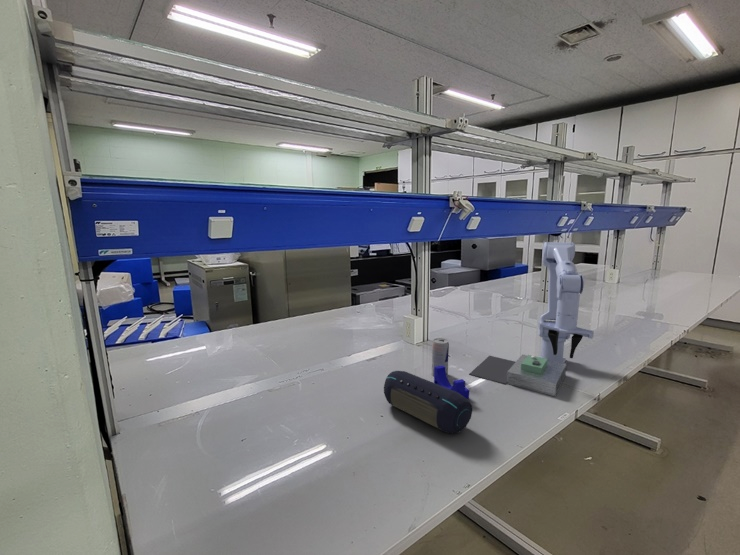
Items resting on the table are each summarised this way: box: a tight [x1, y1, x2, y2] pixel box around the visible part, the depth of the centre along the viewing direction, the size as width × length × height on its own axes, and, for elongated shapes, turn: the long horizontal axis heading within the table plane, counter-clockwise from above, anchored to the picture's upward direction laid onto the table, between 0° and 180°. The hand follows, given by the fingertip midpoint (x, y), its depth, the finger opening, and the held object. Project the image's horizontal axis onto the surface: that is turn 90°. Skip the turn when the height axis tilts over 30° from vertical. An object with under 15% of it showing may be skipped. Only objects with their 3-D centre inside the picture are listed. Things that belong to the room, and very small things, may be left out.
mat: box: [468, 355, 516, 385], centre depth 123 cm, size 20×12×1 cm, turn 142°
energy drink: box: [431, 338, 450, 377], centre depth 118 cm, size 5×5×12 cm
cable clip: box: [433, 365, 470, 400], centre depth 107 cm, size 12×4×6 cm, turn 21°
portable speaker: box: [383, 370, 473, 434], centre depth 93 cm, size 25×10×10 cm, turn 44°
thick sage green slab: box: [521, 354, 548, 374], centre depth 115 cm, size 9×6×3 cm, turn 142°
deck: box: [506, 354, 567, 397], centre depth 115 cm, size 18×14×4 cm
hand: (563, 355), depth 109 cm, fingers open, 4 cm apart
